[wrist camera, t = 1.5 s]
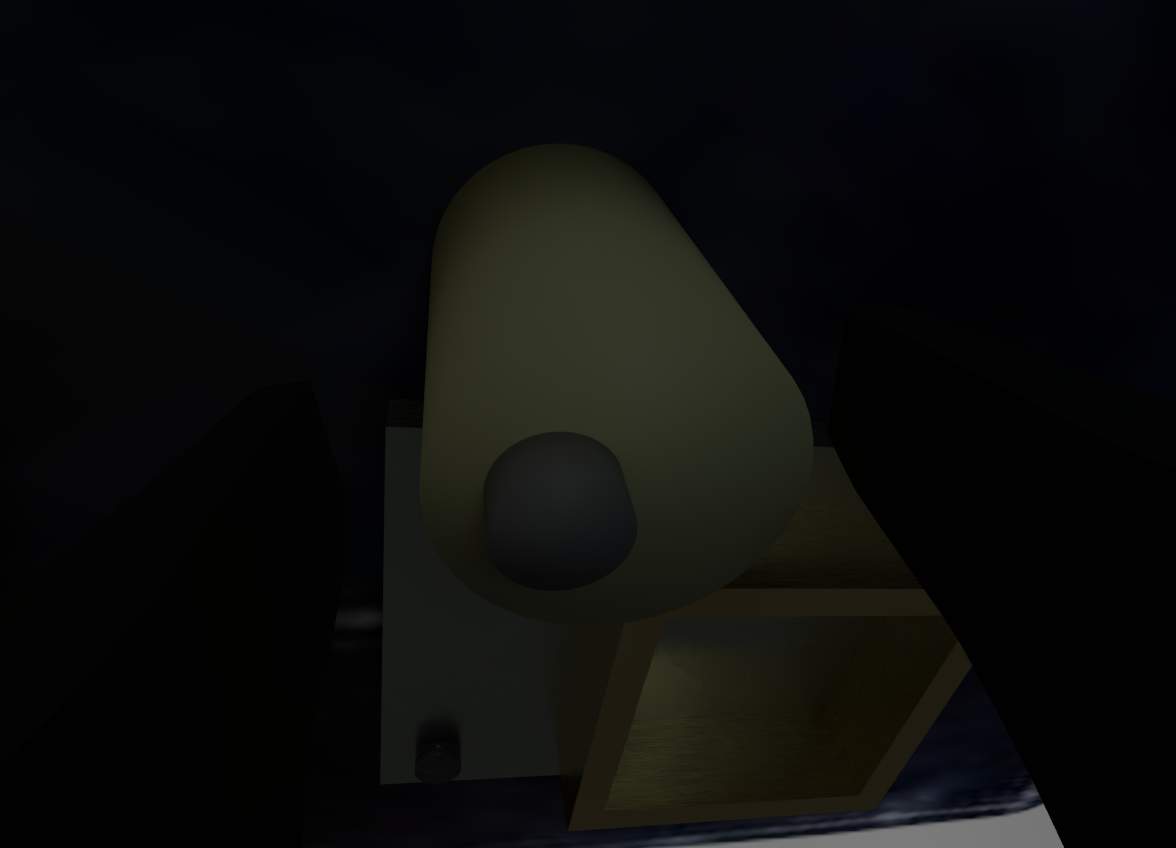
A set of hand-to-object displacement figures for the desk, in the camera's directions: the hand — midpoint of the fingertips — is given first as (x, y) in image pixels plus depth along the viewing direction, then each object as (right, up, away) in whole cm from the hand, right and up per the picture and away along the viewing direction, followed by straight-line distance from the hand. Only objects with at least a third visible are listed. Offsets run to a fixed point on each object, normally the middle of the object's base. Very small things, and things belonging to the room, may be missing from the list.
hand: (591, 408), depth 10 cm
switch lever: (-1, +3, +4) cm, 5 cm away
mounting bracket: (+3, -5, +10) cm, 11 cm away
